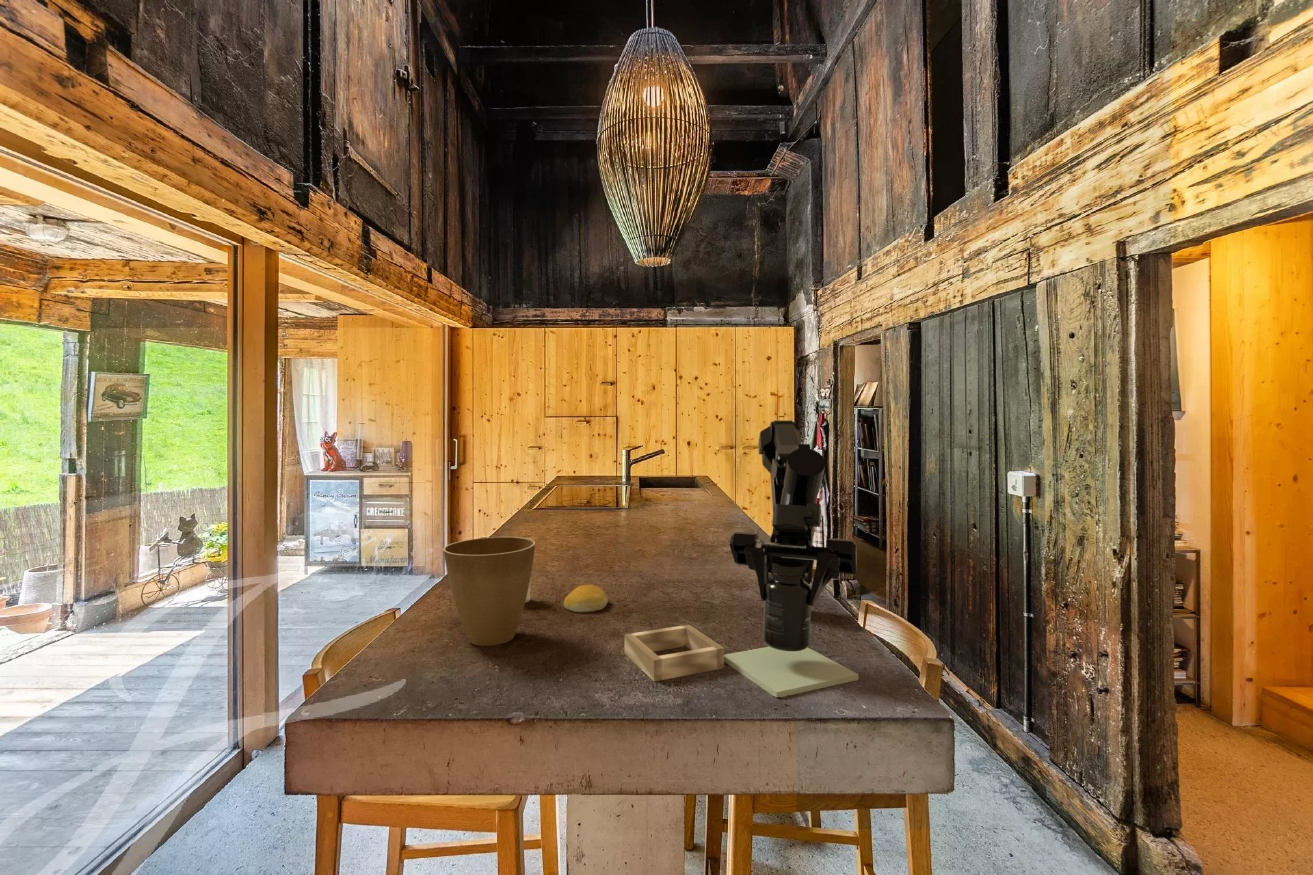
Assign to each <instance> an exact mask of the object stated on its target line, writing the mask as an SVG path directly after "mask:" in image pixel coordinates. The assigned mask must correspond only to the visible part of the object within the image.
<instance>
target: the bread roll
mask: <svg viewBox="0 0 1313 875" xmlns="http://www.w3.org/2000/svg"><path fill="white" fill-rule="evenodd" d="M608 598H609V597H608V595H607V593H606V592H605V591H604V590H603V589H602V588H601V587H599V586H597V585H593V584H582V585H578V586H577V587H575V588H574V589H573V590H572V591H571V592H570V593H569V594H568V595H567V596H566V597H565V598H564V600H563V606H564V608H565V609H566V610H568V611H571V612H574V613H591V612H597V610H598V611H601V610H603V609H605V607H606V606H607V604H608V602H609V600H608Z"/></svg>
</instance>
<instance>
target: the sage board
mask: <svg viewBox="0 0 1313 875" xmlns="http://www.w3.org/2000/svg"><path fill="white" fill-rule="evenodd" d="M724 663H725V664H727V665H729V666H730V667H732V668H733V669H735V671H737V672H739V674H742V675H743V676H744V677H745V678H747V679H748V680H750V681H751V682H753V683H754V684H755V685H756V686H758V687H760V688H761V689H763V690H764V691H766V692H767V693H769V695H771V696H773V697H774V696H775V697H780V698H784V697H788V695H789V696H793V695H797V694H802V693H806V692H812V691H815V690H819V689H824V688H828V687H832V686H833V687H834V686H838V685H841V684H845V683H846V684H847V683H850V682H855V681H858V680H859V673H857V672H855V671H853V670H851V669H849V668H847V667H845V666H844V665H843V664H840V663H838V662H836V661H834V660H832V659H830V658H828V657H826V656H825V655H823V654H821V653H820V652H817V651H815V650H813V649H811V648H809V646H808V647H807V648H806V649H804V650H801V651H782V650H778V649H774V648H772V647H770V646H765V647H759V648H754V649H750V650H743V651H738V652H737V651H736V652H732V653H726V654H725V653H724ZM837 684H838V685H837ZM775 697H774V698H775Z"/></svg>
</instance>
